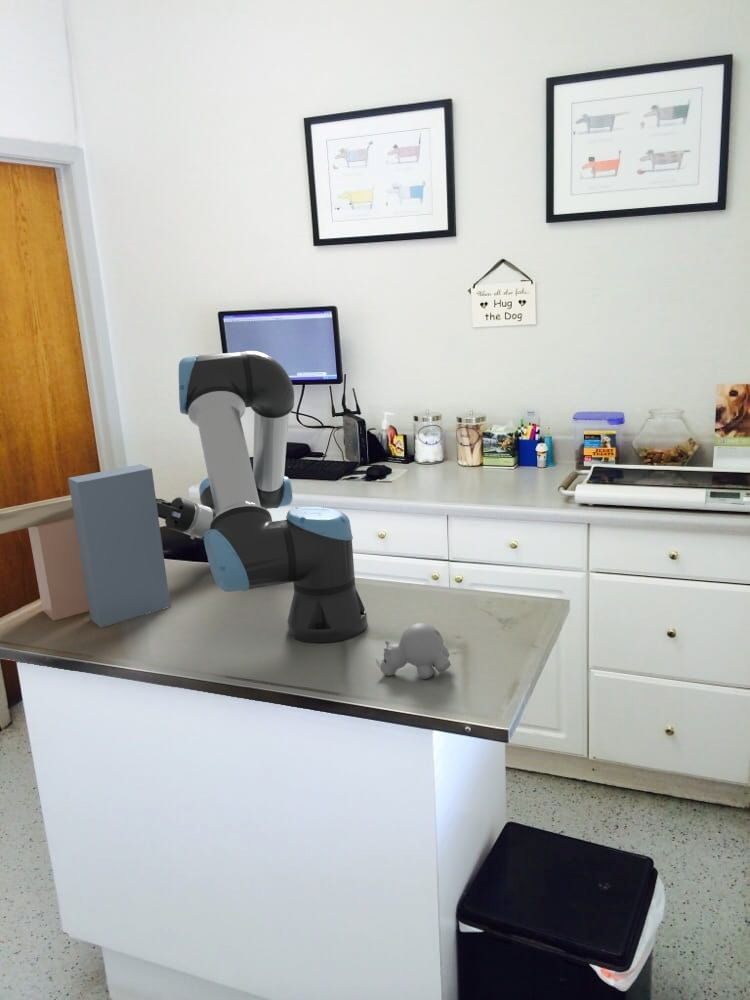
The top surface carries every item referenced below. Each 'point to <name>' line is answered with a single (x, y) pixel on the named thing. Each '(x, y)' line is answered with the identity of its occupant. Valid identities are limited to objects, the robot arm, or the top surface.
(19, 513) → the bar
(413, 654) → the round bodied animal figurine
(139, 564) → the post
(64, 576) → the step
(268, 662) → the top surface
